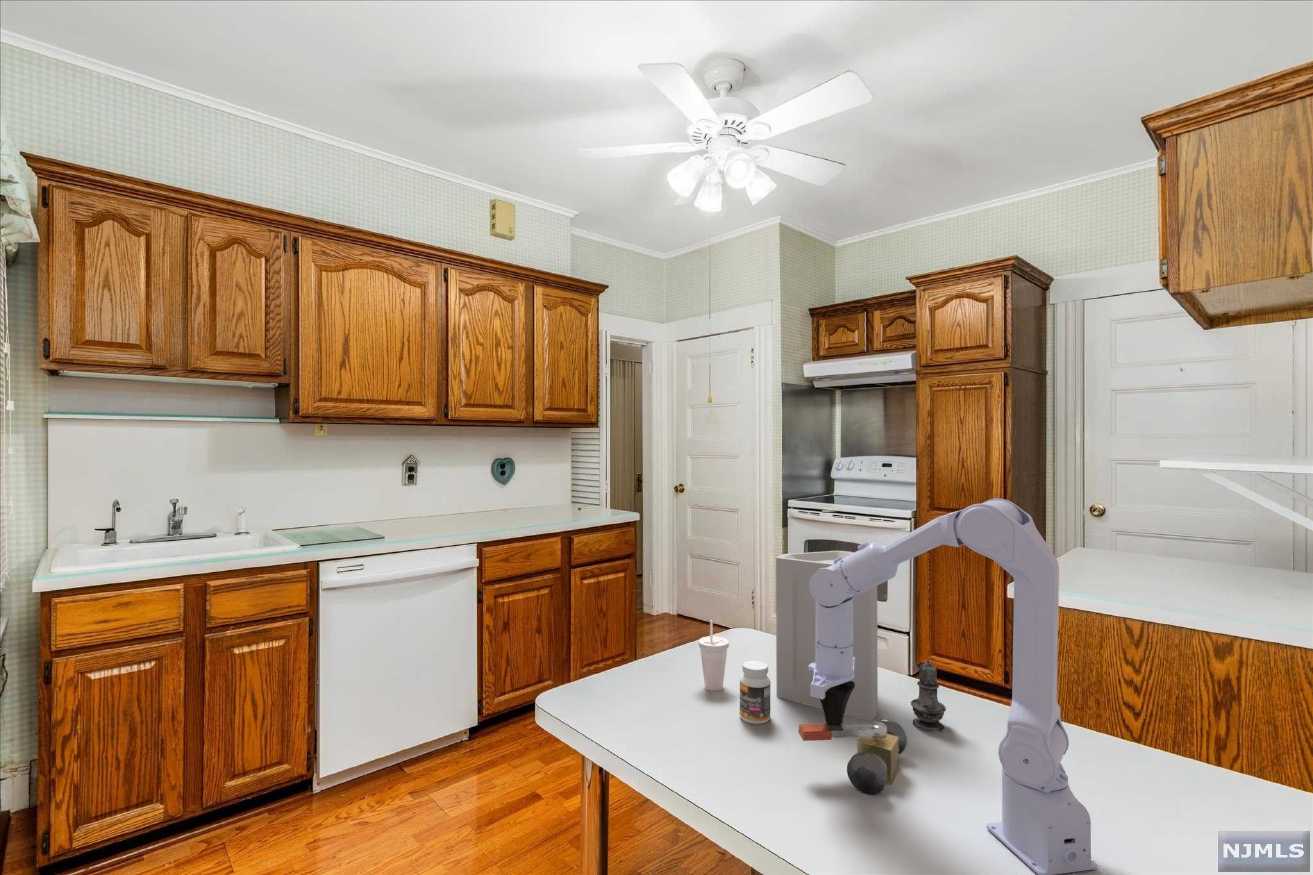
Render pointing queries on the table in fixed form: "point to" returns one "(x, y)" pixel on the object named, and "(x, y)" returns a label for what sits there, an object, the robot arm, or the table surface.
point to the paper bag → (801, 627)
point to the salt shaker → (928, 701)
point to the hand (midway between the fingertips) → (833, 727)
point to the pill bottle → (755, 693)
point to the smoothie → (713, 659)
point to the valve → (877, 759)
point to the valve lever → (841, 731)
